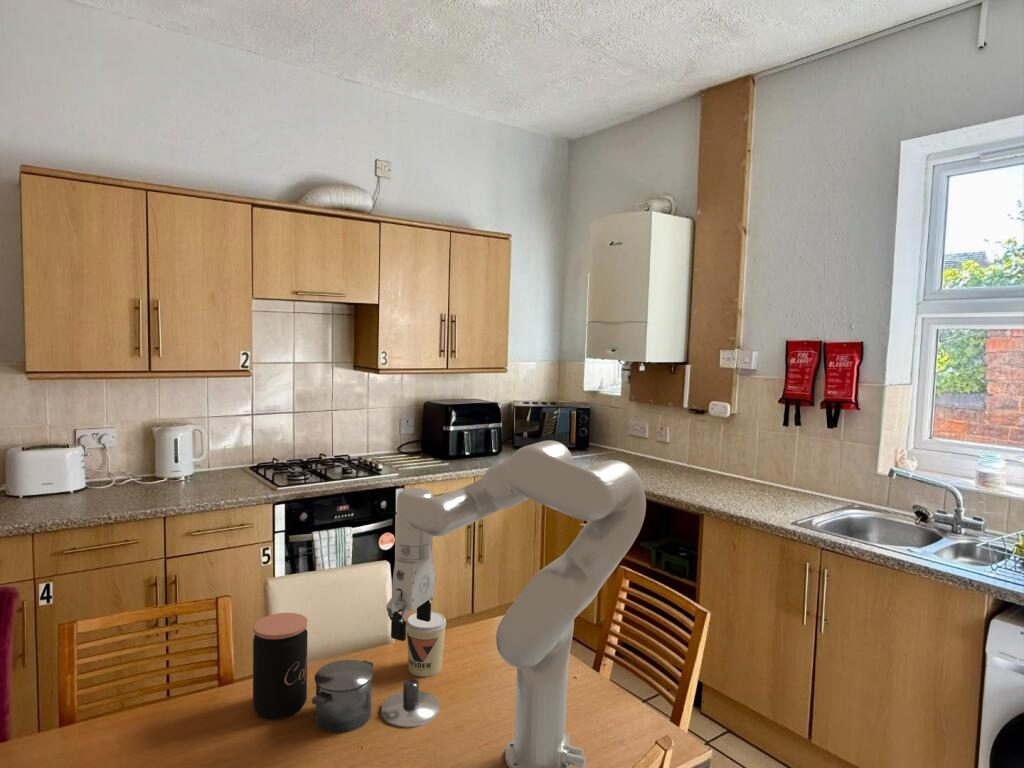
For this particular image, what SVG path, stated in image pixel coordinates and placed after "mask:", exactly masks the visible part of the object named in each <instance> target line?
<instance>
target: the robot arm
mask: <svg viewBox="0 0 1024 768" xmlns="http://www.w3.org/2000/svg"><path fill="white" fill-rule="evenodd" d="M644 488H645V487H644V485H643V483H642V481H641V478H640V476H639V475H638V473H637V472H636V471H635V469H634V468H633V467H632V466H630V465H629V464H628V463H626V462H623V461H621V460H616V459H615V460H614V459H613V460H611V459H610V460H609V459H608V460H604V461H600V462H597V463H596V464H593V465H590V466H588V467H586V468H585V467H582V466H578V465H576V464H574V459H573V456H572V453H571V452H570V450H569V449H568V447H567V446H566V445H565V444H563V443H561V442H559V441H556V440H550V439H549V440H548V439H547V440H542V441H539V442H535V443H532V444H529V445H525V446H522V447H520V448H519V449H517V450H516V451H514V452H513V453H512V455H510V457H508V458H506V459H505V460H502V461H500V462H498V463H495V464H494V465H492V466H490V467H489V468H488V469H486V471H485V473H484V476H483V477H481V478H480V479H477V480H475V481H472V482H471V483H470V484H467V485H466V486H462V487H461V488H459V489H455V490H453V491H450V492H447V493H444V494H441V495H437V496H434V494H433V492H432V491H430V490H428V489H425V488H419V487H412V488H406V489H403V490H401V491H400V492H398V494H397V498H396V520H395V521H396V522H395V555H394V556H395V562H394V566H393V576H392V582H391V583H392V585H391V598H390V600H389V601H388V602H387V603H386V605H385V606H386V607H385V608H386V611H387V616H388V618H389V620H390V625H391V626H390V638H391V639H393V640H398V641H401V642H405V641H406V640H407V626H406V622H407V620H406V616H407V614H408V613H409V612H408V611H411V612H412V611H415V610H416V613H417V619H419V620H423V621H427V622H429V621H430V620H431V612H432V602H433V599H434V598H433V596H434V595H435V591H436V590H435V587H436V581H437V580H436V579H437V577H436V575H435V562H434V561H435V560H434V554H433V537H444V536H446V535H448V534H450V533H453V532H454V531H457V530H459V529H462V528H464V527H466V526H469V525H471V524H473V523H474V522H477V521H479V520H481V519H484V518H485V517H487V516H490V515H492V514H495V513H497V512H498V511H500V510H501V511H502V510H509V509H511V508H513V507H515V506H516V505H519V504H521V503H523V502H526V501H527V500H531V501H534V502H536V503H538V504H540V505H543V506H546V507H548V508H550V509H552V510H556V511H557V512H559V513H562V514H564V515H567V516H569V517H572V518H574V519H577V520H581V521H585V522H586V521H587V522H586V524H585V525H584V526H583V527H582V529H581V530H580V531H579V533H578V534H577V536H576V538H575V539H574V540H573V542H572V543H571V544H570V545H569V547H568V548H567V549H566V550H565V551H564V552H563V553H562V554H561V555H560V556H559V557H558V558H556V559H554V560H553V561H552V562H550V563H548V564H547V565H545V566H544V567H543V568H542V569H540V570H539V571H538V572H536V573H535V575H533V577H532V578H531V579H530V580H529V581H528V582H527V584H525V586H524V588H523V589H522V590H521V591H520V593H519V595H518V596H517V598H516V599H515V600H514V601H513V603H512V604H511V605H510V607H509V608H508V610H507V611H506V612H505V614H504V615H503V617H502V618H501V620H500V622H499V623H498V625H497V628H496V633H495V643H496V644H495V645H496V649H497V651H498V653H499V656H500V657H501V659H502V660H503V661H504V662H505V663H506V664H507V665H510V666H511V667H513V668H516V679H515V680H516V683H515V707H514V731H513V732H514V733H513V734H514V735H513V736H514V737H513V739H512V740H511V741H510V742H509V743H508V744H507V746H506V747H505V752H504V753H505V755H504V759H505V764H506V765H507V767H508V768H572V766H574V767H577V768H586V764H587V757H586V756H583V755H584V752H585V751H584V748H581V747H577V746H574V745H572V744H571V743H570V739H571V737H570V734H566V722H567V702H568V701H567V699H568V698H567V695H568V681H569V680H568V679H569V663H570V662H569V661H570V654H571V653H570V652H571V647H572V642H573V634H574V629H575V627H574V626H575V619H576V618H577V617H578V616H579V615H580V614H581V613H582V612H583V611H584V610H585V609H586V608H587V607H588V606H589V605H590V604H591V603H592V602H593V601H594V600H595V598H596V597H597V595H598V593H599V591H600V590H601V589H602V587H603V586H604V584H605V583H606V582H607V580H608V579H609V578H610V576H611V575H612V574H613V572H614V571H615V570H616V568H617V567H618V566H619V563H620V562H621V561H623V560H622V559H624V557H625V556H626V554H627V553H628V552H629V550H630V549H631V547H632V546H633V544H634V542H635V541H636V539H637V537H638V536H639V534H640V531H641V529H642V527H643V524H644V520H645V517H646V511H647V510H646V509H647V499H646V498H647V497H646V492H645V489H644ZM399 609H400V610H402V611H401V613H400V612H399Z"/></svg>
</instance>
